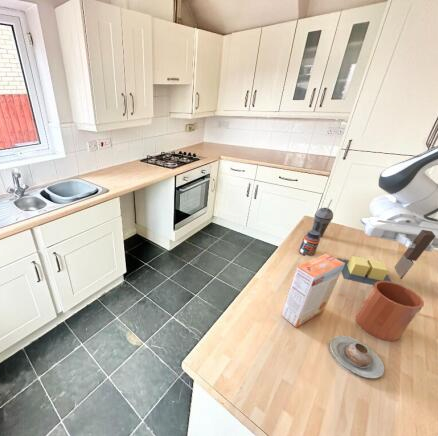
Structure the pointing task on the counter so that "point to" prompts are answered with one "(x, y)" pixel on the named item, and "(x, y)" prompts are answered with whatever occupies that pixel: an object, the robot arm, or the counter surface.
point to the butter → (367, 268)
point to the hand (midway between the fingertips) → (420, 247)
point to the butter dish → (357, 278)
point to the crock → (388, 310)
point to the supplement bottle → (310, 243)
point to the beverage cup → (322, 219)
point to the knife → (414, 252)
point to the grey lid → (357, 357)
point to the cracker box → (311, 289)
